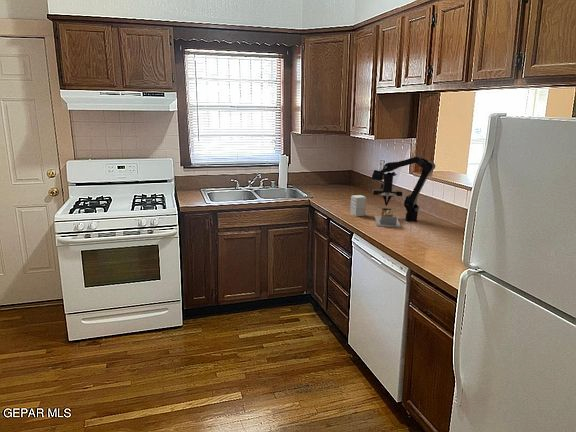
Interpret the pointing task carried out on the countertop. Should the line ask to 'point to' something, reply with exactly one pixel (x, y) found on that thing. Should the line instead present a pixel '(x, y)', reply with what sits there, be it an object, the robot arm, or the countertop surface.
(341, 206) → the countertop surface
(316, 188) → the countertop surface
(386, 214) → the housing
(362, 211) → the supplement box
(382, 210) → the press ram
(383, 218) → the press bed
